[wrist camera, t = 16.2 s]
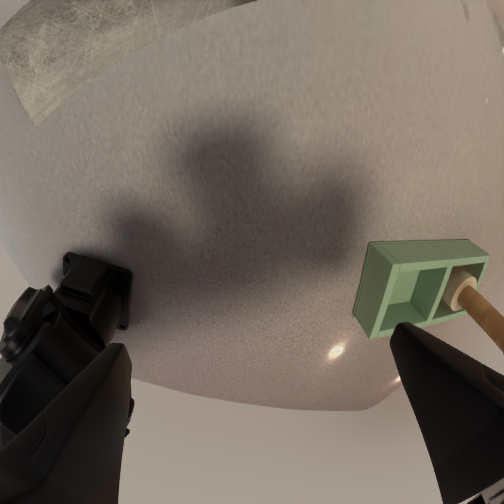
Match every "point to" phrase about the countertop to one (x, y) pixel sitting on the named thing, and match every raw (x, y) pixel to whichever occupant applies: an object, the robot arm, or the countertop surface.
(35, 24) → the meat cleaver
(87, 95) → the countertop surface
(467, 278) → the dish brush
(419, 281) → the green divided tray
